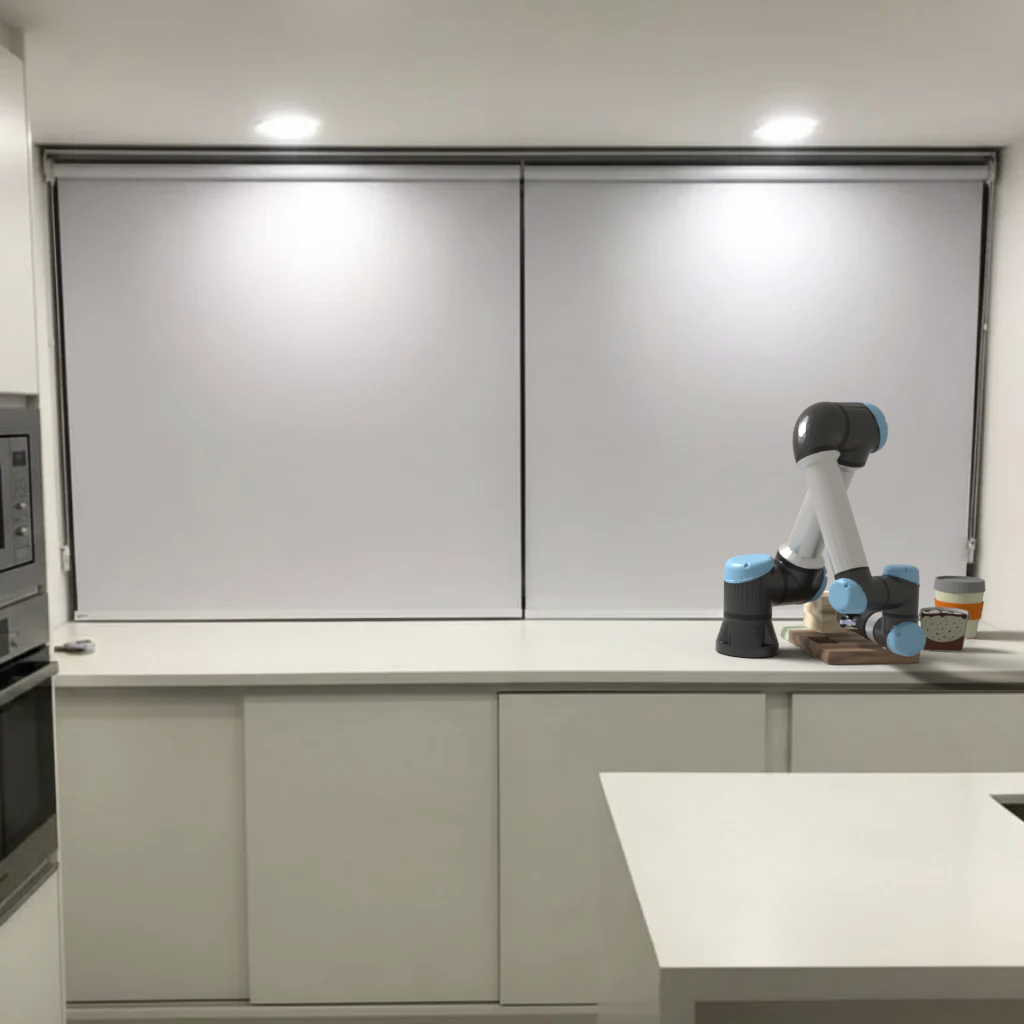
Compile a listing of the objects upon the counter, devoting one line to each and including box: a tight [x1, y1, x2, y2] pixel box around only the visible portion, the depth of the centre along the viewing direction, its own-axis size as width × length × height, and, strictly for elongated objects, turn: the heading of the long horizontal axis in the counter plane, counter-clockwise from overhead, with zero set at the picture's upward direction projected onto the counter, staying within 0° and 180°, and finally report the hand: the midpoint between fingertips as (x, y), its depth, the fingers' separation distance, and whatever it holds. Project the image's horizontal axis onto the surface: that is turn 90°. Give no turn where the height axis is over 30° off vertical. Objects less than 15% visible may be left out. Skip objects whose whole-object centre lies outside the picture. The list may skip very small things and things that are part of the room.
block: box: [802, 590, 847, 633], centre depth 269 cm, size 10×7×9 cm
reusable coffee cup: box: [933, 575, 986, 639], centre depth 276 cm, size 12×13×15 cm
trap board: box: [780, 624, 921, 665], centre depth 260 cm, size 32×22×3 cm
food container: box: [918, 606, 970, 652], centre depth 260 cm, size 12×6×10 cm, turn 84°
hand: (838, 609), depth 264 cm, fingers closed
